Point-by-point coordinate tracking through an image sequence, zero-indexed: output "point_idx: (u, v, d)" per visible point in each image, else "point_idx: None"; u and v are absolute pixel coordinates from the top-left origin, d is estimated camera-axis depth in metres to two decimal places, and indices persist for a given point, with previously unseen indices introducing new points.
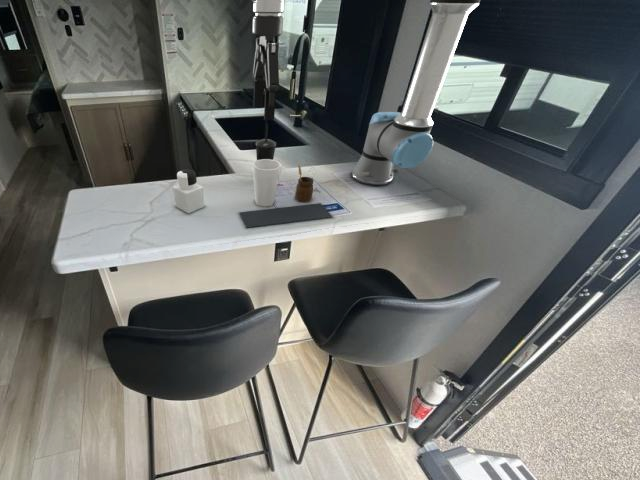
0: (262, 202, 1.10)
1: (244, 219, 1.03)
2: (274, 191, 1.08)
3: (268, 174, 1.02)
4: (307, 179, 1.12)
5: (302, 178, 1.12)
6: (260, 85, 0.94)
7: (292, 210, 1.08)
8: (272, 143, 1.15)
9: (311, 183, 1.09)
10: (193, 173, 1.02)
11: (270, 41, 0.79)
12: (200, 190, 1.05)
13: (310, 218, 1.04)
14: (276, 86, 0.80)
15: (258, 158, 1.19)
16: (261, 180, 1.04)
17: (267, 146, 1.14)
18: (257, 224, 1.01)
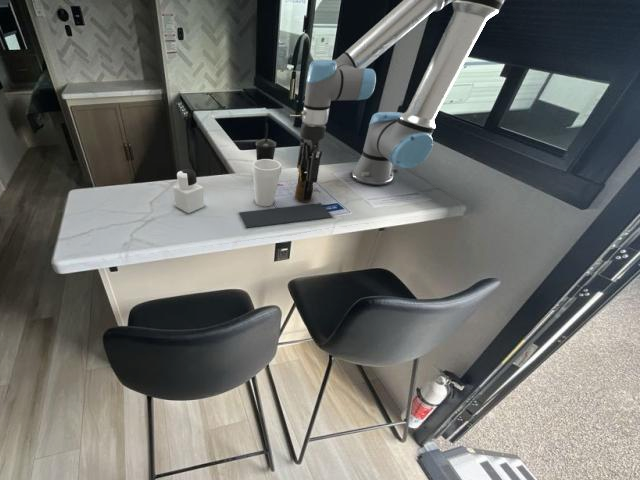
0: (262, 202, 1.10)
1: (244, 219, 1.03)
2: (274, 191, 1.08)
3: (268, 174, 1.02)
4: None
5: (302, 178, 1.12)
6: (303, 176, 1.12)
7: (292, 210, 1.08)
8: (272, 143, 1.15)
9: None
10: (193, 173, 1.02)
11: (315, 144, 0.99)
12: (200, 190, 1.05)
13: (310, 218, 1.04)
14: (315, 180, 1.04)
15: (258, 158, 1.19)
16: (261, 180, 1.04)
17: (267, 146, 1.14)
18: (257, 224, 1.01)
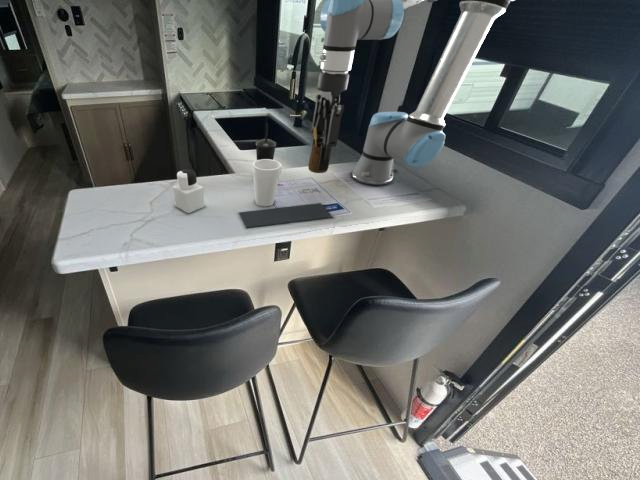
0: (262, 202, 1.10)
1: (244, 219, 1.03)
2: (274, 191, 1.08)
3: (268, 174, 1.02)
4: None
5: (317, 144, 0.94)
6: (319, 142, 0.94)
7: (292, 210, 1.08)
8: (272, 143, 1.15)
9: None
10: (193, 173, 1.02)
11: (336, 97, 0.81)
12: (200, 190, 1.05)
13: (310, 218, 1.04)
14: (334, 143, 0.86)
15: (258, 158, 1.19)
16: (261, 180, 1.04)
17: (267, 146, 1.14)
18: (257, 224, 1.01)
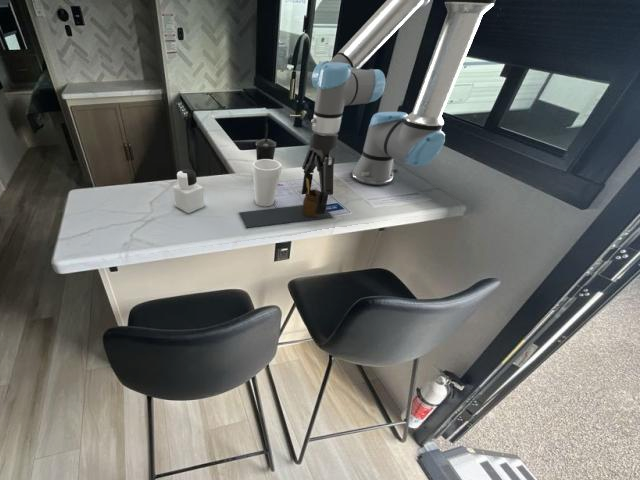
0: (262, 202, 1.10)
1: (244, 219, 1.03)
2: (274, 191, 1.08)
3: (268, 174, 1.02)
4: (315, 192, 1.04)
5: (310, 191, 1.04)
6: (309, 177, 1.05)
7: (292, 210, 1.08)
8: (272, 143, 1.15)
9: None
10: (193, 173, 1.02)
11: (326, 154, 0.90)
12: (200, 190, 1.05)
13: (310, 218, 1.04)
14: (330, 192, 0.91)
15: (258, 158, 1.19)
16: (261, 180, 1.04)
17: (267, 146, 1.14)
18: (257, 224, 1.01)
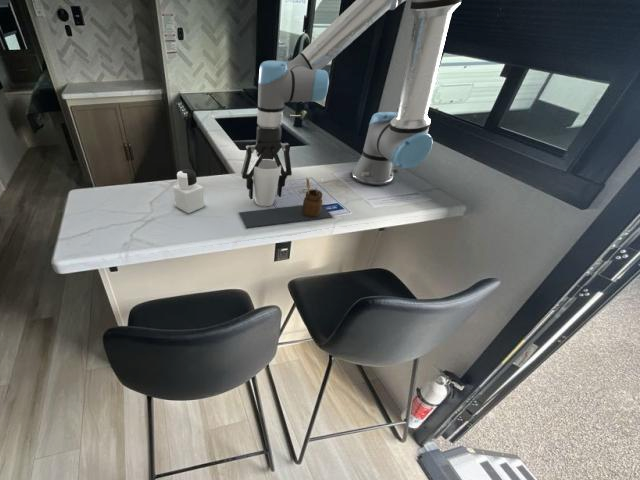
0: (262, 202, 1.10)
1: (244, 219, 1.03)
2: (274, 191, 1.08)
3: (268, 174, 1.02)
4: (315, 192, 1.04)
5: (310, 191, 1.04)
6: (279, 180, 1.08)
7: (292, 210, 1.08)
8: None
9: (320, 197, 1.01)
10: (193, 173, 1.02)
11: (256, 143, 0.99)
12: (200, 190, 1.05)
13: (310, 218, 1.04)
14: (242, 175, 1.04)
15: None
16: (261, 180, 1.04)
17: None
18: (257, 224, 1.01)
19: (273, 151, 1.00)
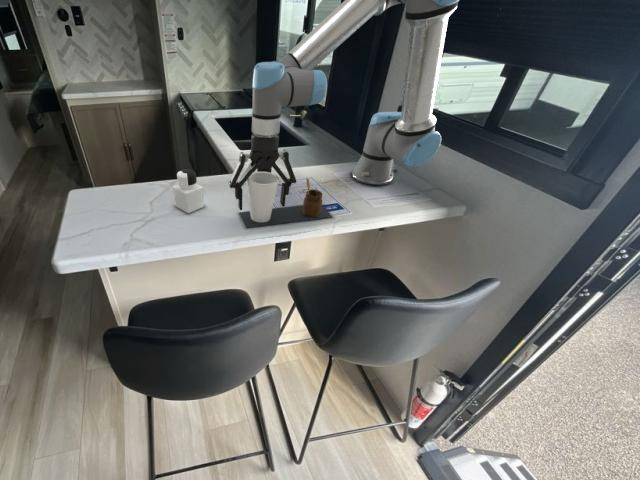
0: (258, 218, 1.01)
1: (244, 219, 1.03)
2: (271, 206, 0.99)
3: (264, 189, 0.93)
4: (315, 192, 1.04)
5: (310, 191, 1.04)
6: (283, 188, 0.98)
7: (292, 210, 1.08)
8: None
9: (320, 197, 1.01)
10: (193, 173, 1.02)
11: (251, 153, 0.90)
12: (200, 190, 1.05)
13: (310, 218, 1.04)
14: (230, 184, 0.94)
15: None
16: (257, 195, 0.95)
17: None
18: (257, 224, 1.01)
19: (270, 161, 0.91)
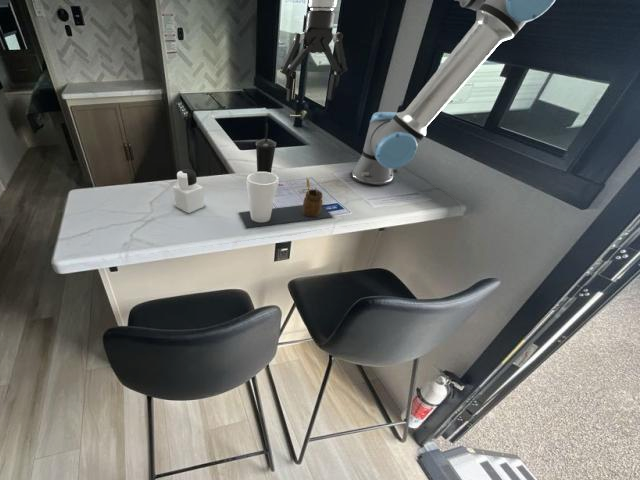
0: (258, 218, 1.01)
1: (244, 219, 1.03)
2: (271, 206, 0.99)
3: (264, 189, 0.93)
4: (315, 192, 1.04)
5: (310, 191, 1.04)
6: (332, 78, 0.98)
7: (292, 210, 1.08)
8: (272, 143, 1.15)
9: (320, 197, 1.01)
10: (193, 173, 1.02)
11: (306, 32, 0.90)
12: (200, 190, 1.05)
13: (310, 218, 1.04)
14: (281, 69, 0.94)
15: (258, 158, 1.19)
16: (257, 195, 0.95)
17: (267, 146, 1.14)
18: (257, 224, 1.01)
19: (324, 42, 0.90)
